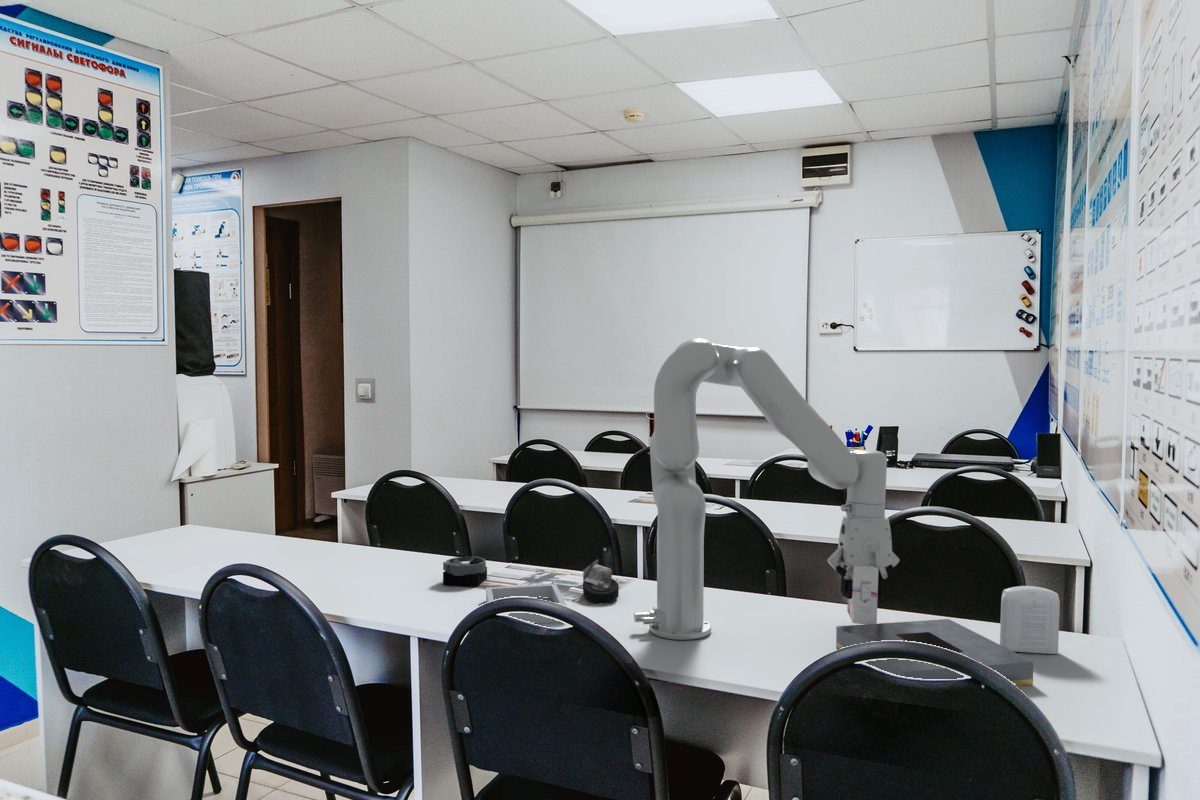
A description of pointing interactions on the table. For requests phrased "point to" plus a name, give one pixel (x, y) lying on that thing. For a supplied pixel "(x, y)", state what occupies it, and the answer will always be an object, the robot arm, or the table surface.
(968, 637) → the dock
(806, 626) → the table surface
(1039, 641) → the photo printer
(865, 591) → the ink cartridge box
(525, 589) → the charger corral
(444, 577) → the cpu cooler
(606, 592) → the caster wheel
